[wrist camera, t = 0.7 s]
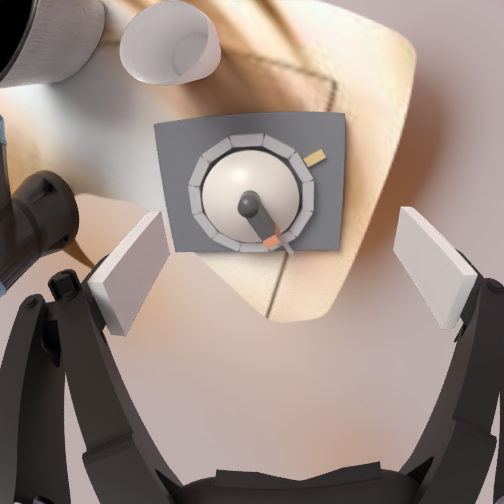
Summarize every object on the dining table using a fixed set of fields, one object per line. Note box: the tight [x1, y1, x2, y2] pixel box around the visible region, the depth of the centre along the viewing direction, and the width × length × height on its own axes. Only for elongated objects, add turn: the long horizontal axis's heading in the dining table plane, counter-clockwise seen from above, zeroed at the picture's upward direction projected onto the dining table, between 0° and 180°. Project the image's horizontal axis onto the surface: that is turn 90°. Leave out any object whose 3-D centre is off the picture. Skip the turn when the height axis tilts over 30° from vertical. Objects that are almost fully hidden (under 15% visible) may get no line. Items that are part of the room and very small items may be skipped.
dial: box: [202, 149, 299, 249], centre depth 34 cm, size 12×12×5 cm
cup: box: [120, 0, 221, 86], centre depth 24 cm, size 9×9×12 cm
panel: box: [154, 112, 345, 255], centre depth 36 cm, size 24×20×3 cm
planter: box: [0, 0, 105, 89], centre depth 19 cm, size 16×16×16 cm
